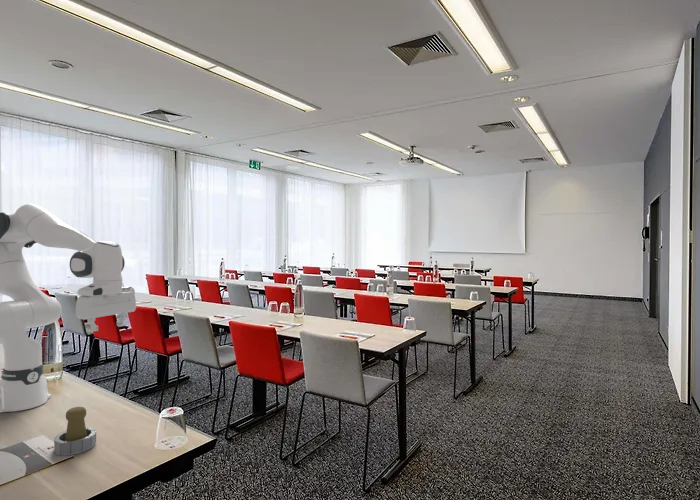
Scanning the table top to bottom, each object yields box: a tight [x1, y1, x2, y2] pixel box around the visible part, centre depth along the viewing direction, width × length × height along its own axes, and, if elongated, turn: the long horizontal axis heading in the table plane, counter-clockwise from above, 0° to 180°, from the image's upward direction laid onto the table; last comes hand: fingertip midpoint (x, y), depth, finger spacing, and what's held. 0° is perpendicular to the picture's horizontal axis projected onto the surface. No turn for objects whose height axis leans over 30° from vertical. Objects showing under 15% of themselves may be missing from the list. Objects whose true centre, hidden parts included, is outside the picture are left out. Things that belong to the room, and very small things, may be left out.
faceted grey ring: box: [53, 426, 97, 457], centre depth 128 cm, size 10×10×4 cm
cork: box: [65, 406, 87, 441], centre depth 128 cm, size 6×6×11 cm
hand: (107, 328), depth 148 cm, fingers open, 8 cm apart
